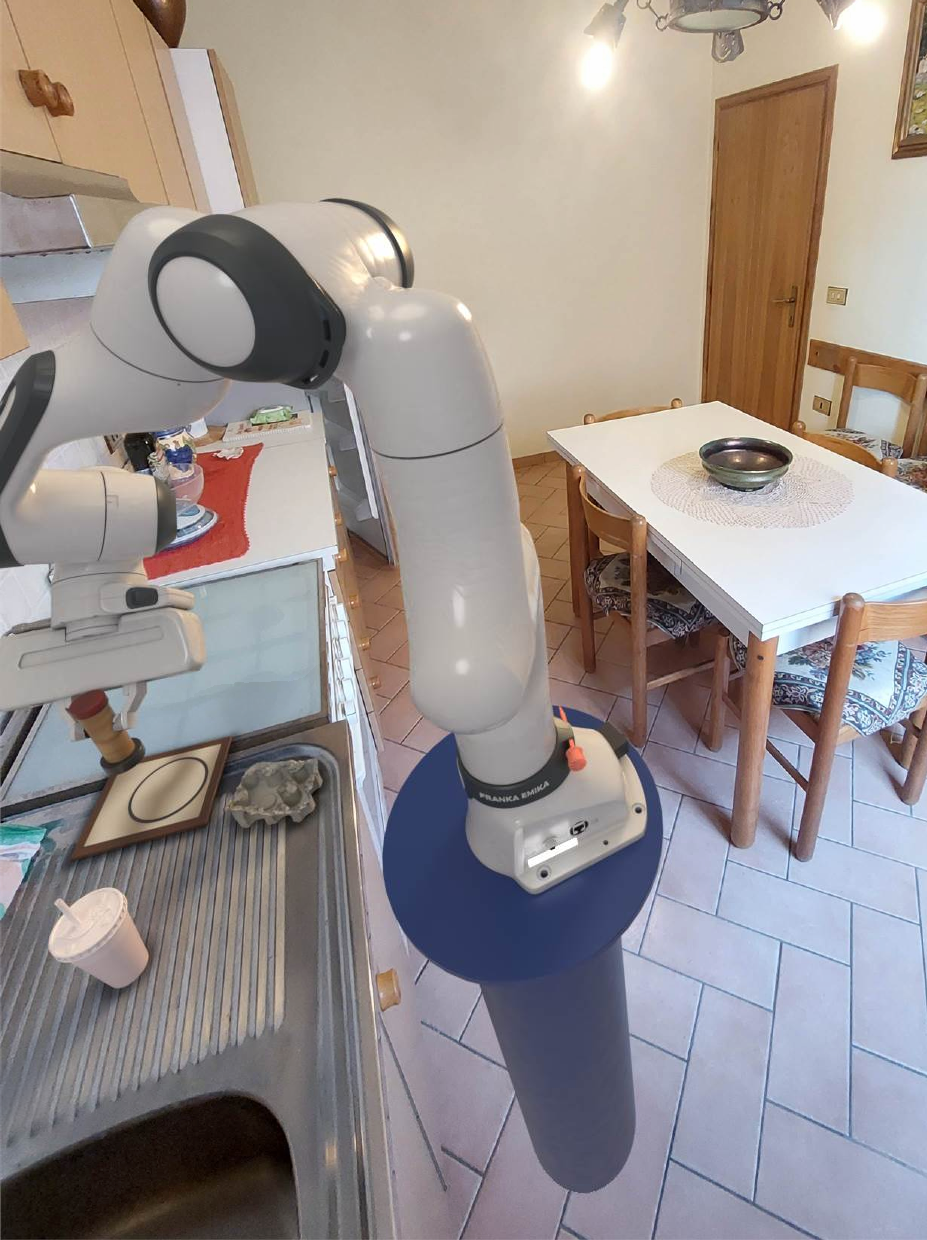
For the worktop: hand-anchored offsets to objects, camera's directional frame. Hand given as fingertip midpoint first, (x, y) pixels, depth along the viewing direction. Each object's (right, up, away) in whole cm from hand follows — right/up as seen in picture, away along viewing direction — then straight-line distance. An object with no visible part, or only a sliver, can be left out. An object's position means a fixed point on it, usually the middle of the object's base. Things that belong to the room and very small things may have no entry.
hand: (104, 734), depth 65 cm
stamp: (0, -4, +3) cm, 5 cm away
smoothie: (+3, -25, 0) cm, 25 cm away
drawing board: (-6, -16, +18) cm, 25 cm away
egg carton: (+12, -15, +16) cm, 25 cm away
